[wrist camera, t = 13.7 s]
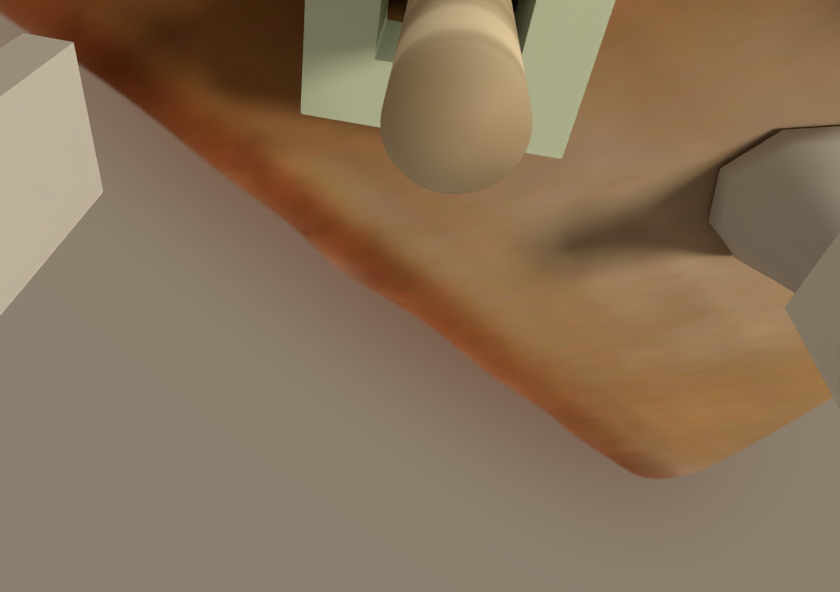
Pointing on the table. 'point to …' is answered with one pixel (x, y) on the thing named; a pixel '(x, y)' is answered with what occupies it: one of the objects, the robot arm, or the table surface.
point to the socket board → (377, 41)
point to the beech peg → (457, 95)
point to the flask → (781, 203)
